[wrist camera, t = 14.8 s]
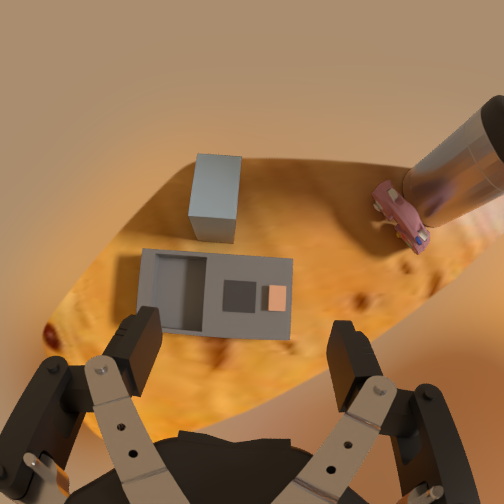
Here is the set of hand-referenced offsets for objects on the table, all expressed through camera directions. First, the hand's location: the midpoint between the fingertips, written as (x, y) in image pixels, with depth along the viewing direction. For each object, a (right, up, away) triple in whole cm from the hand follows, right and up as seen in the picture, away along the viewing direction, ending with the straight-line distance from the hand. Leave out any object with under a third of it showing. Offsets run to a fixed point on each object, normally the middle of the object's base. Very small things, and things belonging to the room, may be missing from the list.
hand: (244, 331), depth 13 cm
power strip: (-4, -1, +18) cm, 18 cm away
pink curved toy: (+19, +7, +22) cm, 30 cm away
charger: (-3, +8, +20) cm, 22 cm away
